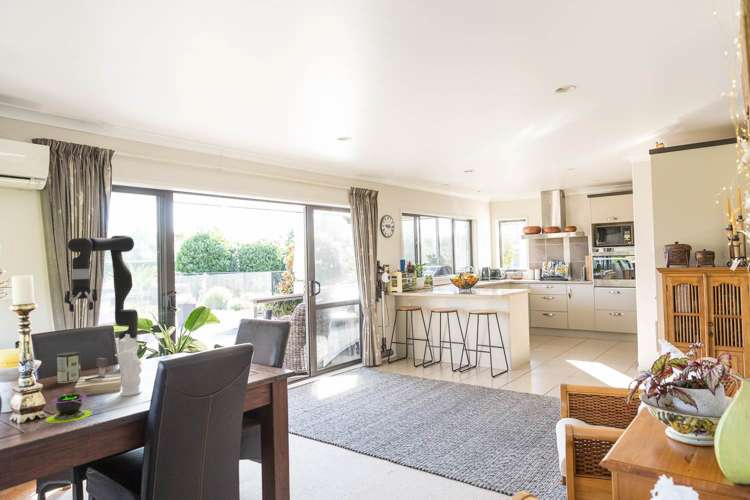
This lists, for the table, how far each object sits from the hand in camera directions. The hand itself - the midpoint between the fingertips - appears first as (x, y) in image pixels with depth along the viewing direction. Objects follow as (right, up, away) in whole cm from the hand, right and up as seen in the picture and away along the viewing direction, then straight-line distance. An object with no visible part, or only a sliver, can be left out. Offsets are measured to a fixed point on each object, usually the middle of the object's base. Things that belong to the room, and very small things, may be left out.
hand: (81, 311), depth 238 cm
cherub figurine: (+34, -35, -21) cm, 53 cm away
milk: (+16, -36, +14) cm, 42 cm away
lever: (+12, -31, -9) cm, 34 cm away
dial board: (+14, -35, -9) cm, 39 cm away
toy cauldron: (+28, -34, -53) cm, 69 cm away
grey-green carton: (-11, -37, +8) cm, 40 cm away
